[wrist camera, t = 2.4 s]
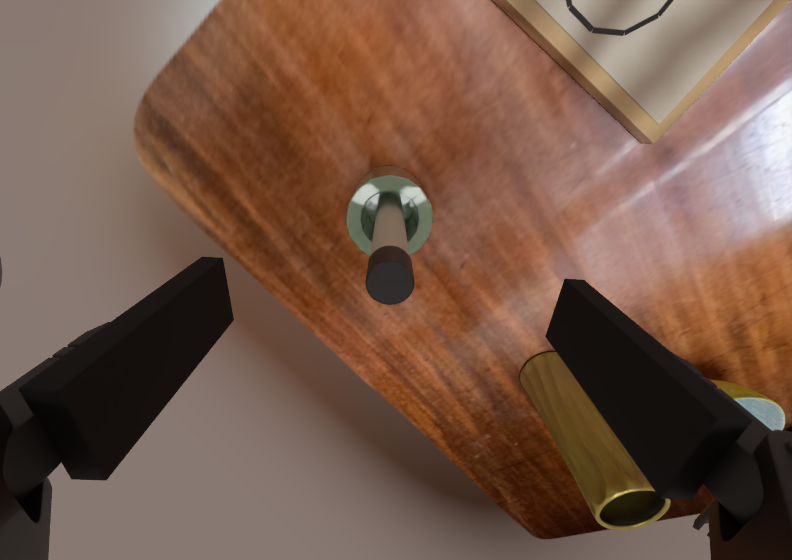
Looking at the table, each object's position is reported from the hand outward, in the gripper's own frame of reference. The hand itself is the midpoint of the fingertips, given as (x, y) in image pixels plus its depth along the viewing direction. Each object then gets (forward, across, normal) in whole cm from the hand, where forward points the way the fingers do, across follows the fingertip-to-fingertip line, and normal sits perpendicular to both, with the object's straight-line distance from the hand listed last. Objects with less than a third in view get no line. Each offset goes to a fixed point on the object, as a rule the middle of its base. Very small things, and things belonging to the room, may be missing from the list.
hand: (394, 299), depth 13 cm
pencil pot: (+16, 0, 0) cm, 16 cm away
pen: (+16, 0, 0) cm, 16 cm away
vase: (+17, +18, -18) cm, 30 cm away
